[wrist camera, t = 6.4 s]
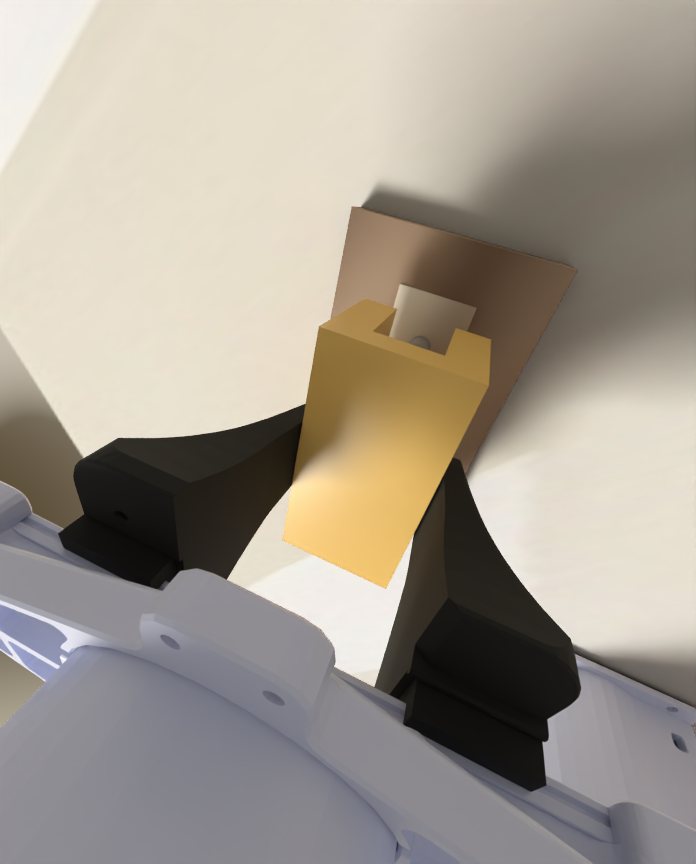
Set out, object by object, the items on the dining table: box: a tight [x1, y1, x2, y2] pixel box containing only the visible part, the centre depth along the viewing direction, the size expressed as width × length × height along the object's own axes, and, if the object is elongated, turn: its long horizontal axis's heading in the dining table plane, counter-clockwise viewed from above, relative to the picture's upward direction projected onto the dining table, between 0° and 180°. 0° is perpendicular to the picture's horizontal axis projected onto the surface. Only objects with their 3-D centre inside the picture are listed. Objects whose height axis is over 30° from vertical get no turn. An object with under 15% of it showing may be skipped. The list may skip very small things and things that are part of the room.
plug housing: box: [282, 298, 491, 589], centre depth 13 cm, size 4×9×4 cm, turn 167°
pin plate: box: [331, 207, 577, 473], centre depth 16 cm, size 8×14×4 cm, turn 167°
